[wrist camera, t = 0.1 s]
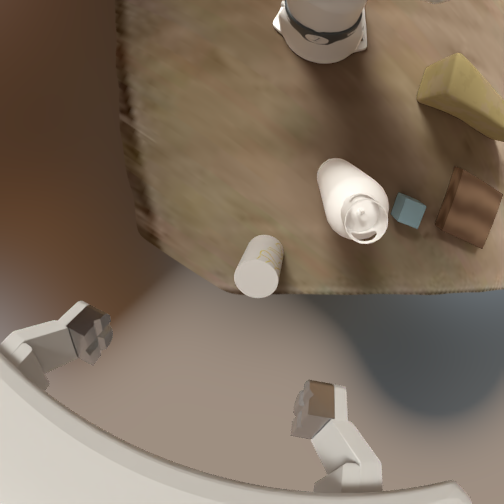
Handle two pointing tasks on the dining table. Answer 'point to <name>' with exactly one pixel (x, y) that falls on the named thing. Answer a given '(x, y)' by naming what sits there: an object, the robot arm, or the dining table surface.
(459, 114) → the cheese
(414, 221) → the cube
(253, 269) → the cup
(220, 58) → the dining table surface
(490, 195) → the riser
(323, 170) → the bottle
